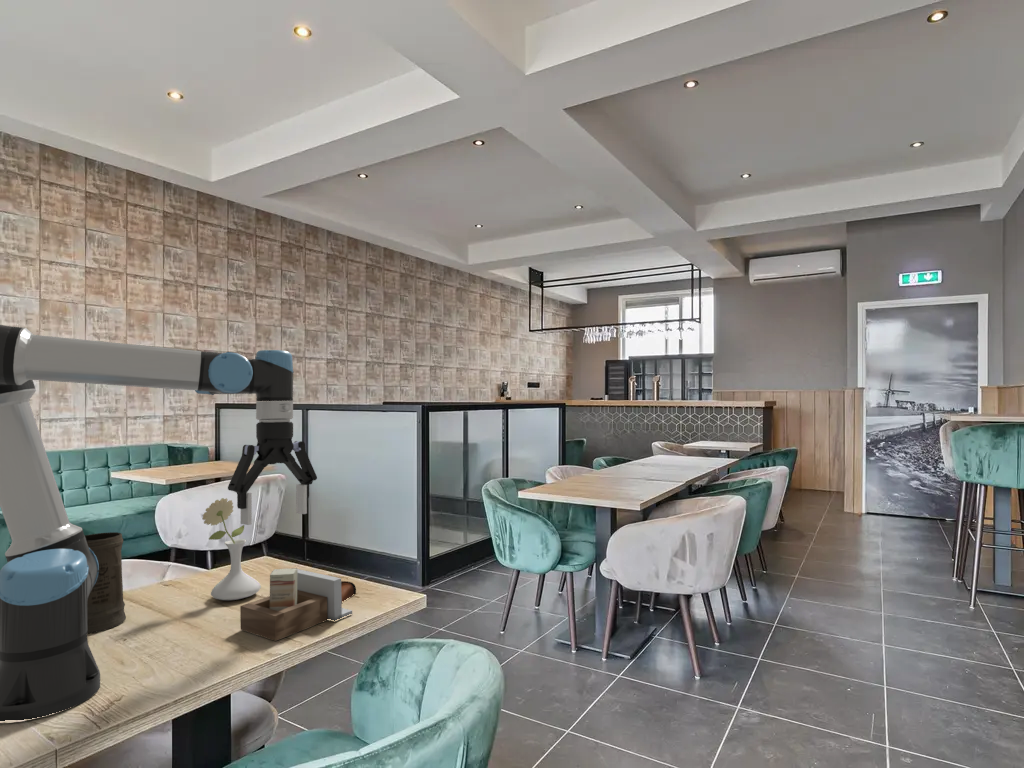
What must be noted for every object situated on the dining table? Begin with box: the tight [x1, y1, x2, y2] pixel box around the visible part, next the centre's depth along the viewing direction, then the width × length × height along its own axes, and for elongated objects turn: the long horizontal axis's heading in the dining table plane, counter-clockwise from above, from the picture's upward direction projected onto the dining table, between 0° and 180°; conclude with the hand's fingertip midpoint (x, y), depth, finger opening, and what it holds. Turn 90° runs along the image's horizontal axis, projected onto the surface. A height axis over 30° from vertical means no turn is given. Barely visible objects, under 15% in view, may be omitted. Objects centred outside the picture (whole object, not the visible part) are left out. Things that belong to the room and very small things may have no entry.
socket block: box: [239, 590, 328, 642], centre depth 128 cm, size 13×12×5 cm
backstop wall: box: [297, 568, 353, 621], centre depth 136 cm, size 5×16×9 cm, turn 57°
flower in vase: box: [202, 497, 262, 601], centre depth 148 cm, size 13×11×25 cm
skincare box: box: [269, 567, 298, 611], centre depth 128 cm, size 5×4×10 cm
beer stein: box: [84, 531, 127, 634], centre depth 133 cm, size 15×11×20 cm
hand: (275, 518), depth 129 cm, fingers open, 13 cm apart
